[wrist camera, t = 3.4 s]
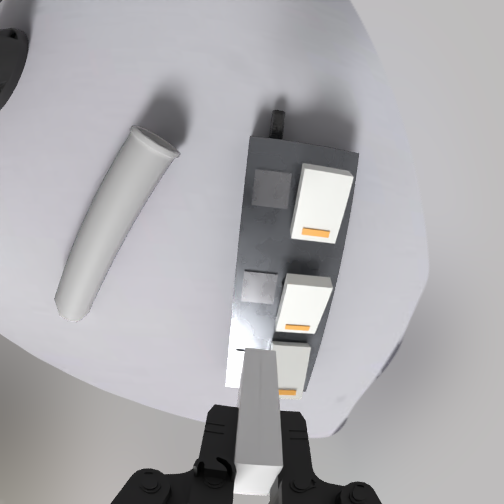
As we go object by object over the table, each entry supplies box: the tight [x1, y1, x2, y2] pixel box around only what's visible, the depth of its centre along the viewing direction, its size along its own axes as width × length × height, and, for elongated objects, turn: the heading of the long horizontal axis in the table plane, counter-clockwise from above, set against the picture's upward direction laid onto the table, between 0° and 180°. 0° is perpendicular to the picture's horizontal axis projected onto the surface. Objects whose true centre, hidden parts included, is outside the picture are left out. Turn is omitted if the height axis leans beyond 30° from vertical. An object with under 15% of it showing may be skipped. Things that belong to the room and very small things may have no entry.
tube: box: [54, 125, 180, 322], centre depth 27 cm, size 5×5×25 cm
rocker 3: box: [271, 341, 311, 399], centre depth 29 cm, size 6×4×2 cm, turn 174°
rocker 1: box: [290, 163, 354, 244], centre depth 23 cm, size 6×4×2 cm, turn 174°
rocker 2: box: [276, 273, 333, 334], centre depth 26 cm, size 6×4×2 cm, turn 174°
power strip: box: [226, 110, 359, 392], centre depth 29 cm, size 31×10×4 cm, turn 174°
